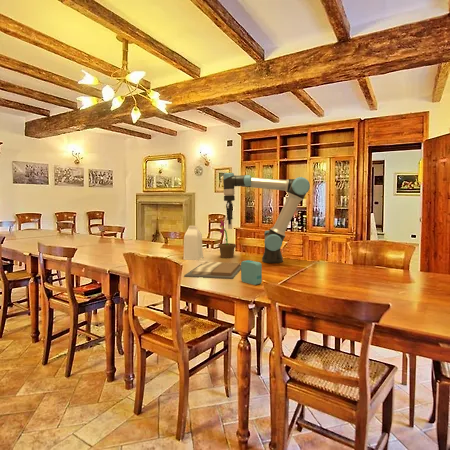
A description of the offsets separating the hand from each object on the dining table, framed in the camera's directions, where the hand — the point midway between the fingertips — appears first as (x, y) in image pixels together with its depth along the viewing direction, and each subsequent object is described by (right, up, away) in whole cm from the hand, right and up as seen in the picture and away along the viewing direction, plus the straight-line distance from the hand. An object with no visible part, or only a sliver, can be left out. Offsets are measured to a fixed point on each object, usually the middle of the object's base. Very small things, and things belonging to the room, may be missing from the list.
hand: (230, 228), depth 236 cm
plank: (-15, -26, -18) cm, 35 cm away
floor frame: (-9, -27, -19) cm, 35 cm away
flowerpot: (-2, -23, +31) cm, 39 cm away
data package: (+11, -30, -49) cm, 58 cm away
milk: (-28, -24, +27) cm, 46 cm away
